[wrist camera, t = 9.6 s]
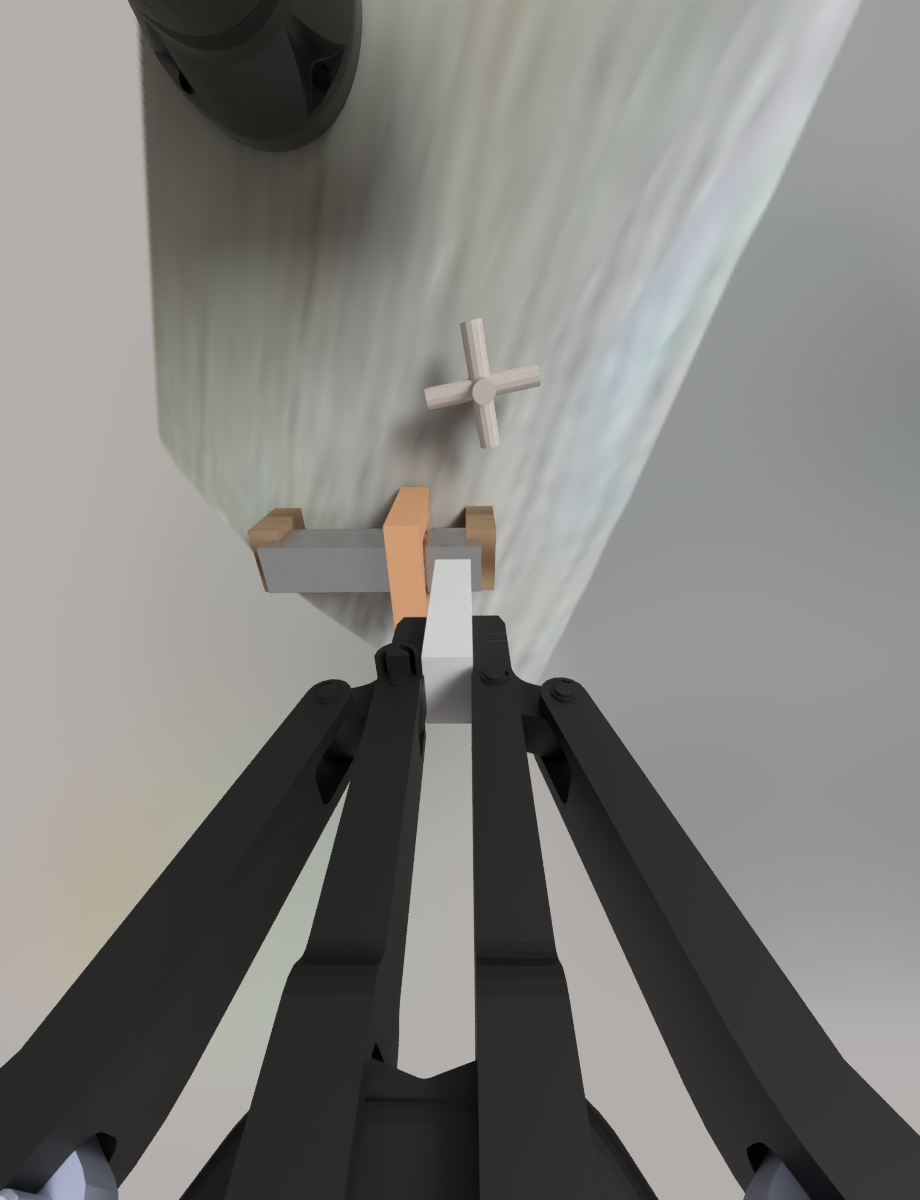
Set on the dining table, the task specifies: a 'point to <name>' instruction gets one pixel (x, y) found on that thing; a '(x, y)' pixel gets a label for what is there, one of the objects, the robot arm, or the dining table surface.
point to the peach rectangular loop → (407, 552)
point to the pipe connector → (481, 384)
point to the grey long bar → (354, 559)
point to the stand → (283, 520)
